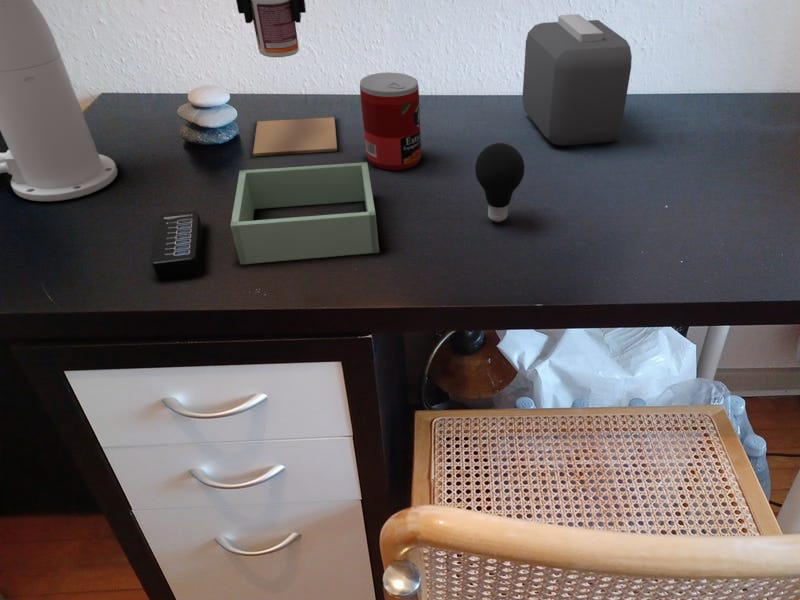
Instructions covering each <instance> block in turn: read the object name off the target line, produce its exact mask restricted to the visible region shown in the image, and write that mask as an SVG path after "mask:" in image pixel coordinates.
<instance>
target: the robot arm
mask: <svg viewBox="0 0 800 600" xmlns="http://www.w3.org/2000/svg"><path fill="white" fill-rule="evenodd" d="M235 2H236V7H237V11H238V12H237V13H238V14H243V16H244V20H245V23H246V24H251V23H253V17H252V11H251V6H250V1H249V0H235ZM291 5H292V12H293V19H294V21H295V24H296V23H297V24H298V23H301V21H302V14H304V13H307V10H306V1H305V0H291ZM0 133H1V135H2V137H3V139H4V142H5V144H6V146H7V148H8V149H7V150H6V152H0V174H3V173H7V174H8V175H11V176H12V177H11V179H10V186H11V188H12V190H13V192H14V193H15V194H16V195H17V196H18V197H20V198H23V199H25V200H27V201H28V200H29V201H32V202H33V201H34V202H60V201H68V200H73V199H78V198H81V197H84V196H87V195H90V194H93V193H95V192H98V191H100V190H102V189H103V188H106V187H107V186H108V185H110V184H111V183H112V182H113V181H114V180H115V179H116V177H117V176H118V168H117V164H116V162H115V161H114V160H113V159H112V158H110V157H109V156H106V155H104V154H100V153H99V152H98V149H97V148H96V145H95V142H94V139H93V136H92V134H91V131H90V128H89V126H88V123H87V121H86V118H85V115H84V113H83V110H82V108H81V105H80V102H79V100H78V97H77V95H76V91H75V89H74V86H73V84H72V81H71V79H70V76H69V73H68V71H67V69H66V65H65V63H64V60H63V57H62V55H61V53H60V50H59V48H58V44H57V42H56V40H55V37H54V35H53V33H52V30H51V28H50V26H49V24H48V22H47V20H46V18H45V17H44V15H43V14H42V12H41V10H40V9H39V7H38V6H37V5H36V3H35V2H34V0H0Z"/></svg>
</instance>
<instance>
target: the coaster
mask: <svg viewBox="0 0 800 600" xmlns="http://www.w3.org/2000/svg"><path fill="white" fill-rule="evenodd" d="M336 128H337V127H336V118H335V117H332V116H331V117H315V118H312V117H311V118H297V119H296V118H294V119H276V120H264V121H263V120H259V121H257V122H256V129H255V136H254V143H253V151H252V156H253V157H265V156H266V157H267V156H283V155H298V154H316V153H329V152H330V153H331V152H333V153H334V152H338V144H337V143H338V142H337V131H336V130H337V129H336Z"/></svg>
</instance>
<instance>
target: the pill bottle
mask: <svg viewBox="0 0 800 600" xmlns="http://www.w3.org/2000/svg"><path fill="white" fill-rule="evenodd" d="M249 1H250V6H251V11H252V17H253V21H252V23H253V27H254V32H255V38H256V43H257V49H258V52H259V54H260V55H262V56H265V57H268V58H286V57H291V56H294V55H296V54H298V52H299V51H300V49H299V47H300V46H299V41H298V32H297V27H296V26H297V25H296V21H294V19H293V12H292V5H291V0H249Z"/></svg>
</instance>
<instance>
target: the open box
mask: <svg viewBox="0 0 800 600" xmlns="http://www.w3.org/2000/svg"><path fill="white" fill-rule="evenodd" d="M372 189H373V188H372V184H371V176H370V170H369V164H368V161H364V162H363V161H361V162H351V163H336V164H333V163H332V164H320V165H319V164H318V165H305V166H304V165H303V166H290V167H274V168H273V167H272V168H257V169H241V170H239V172H238V179H237V185H236V190H235V197H234V202H233V207H232V214H231V220H230V229H231V233H232V237H233V241H234V244H235V248H236V249H235V250H236V252H237V256H238V260H239V263H240V265H251V264H261V263H274V262H286V261H297V260H307V259H309V260H310V259H320V258H330V257H343V256H354V255H366V254H377V253H378V254H379V253H380V246H379V245H380V244H379V236H378V235H379V234H378V224H377V215H376V208H375V203H374V196H373V190H372ZM357 202H364V203H365V211H360V212H347V213H334V214H323V215H322V214H320V215H307V216H296V217H283V218H281V217H280V218H268V219H257V220H254V214H255V210H262V209H275V208H288V207H290V208H291V207H301V206H315V205H329V204H330V205H331V204H341V203H342V204H343V203H357Z"/></svg>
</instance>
